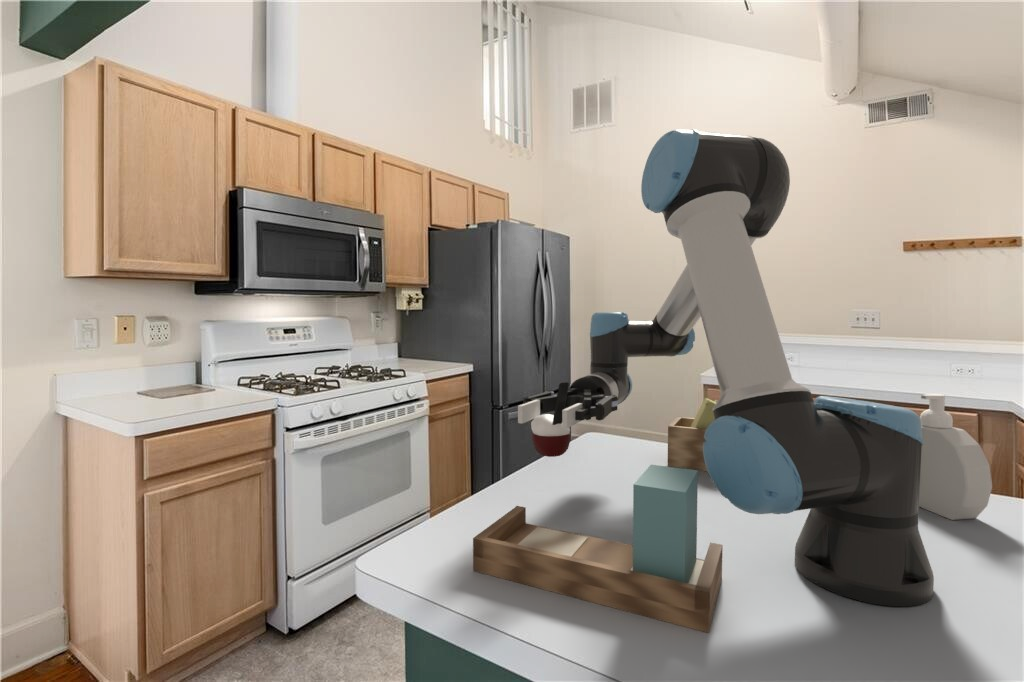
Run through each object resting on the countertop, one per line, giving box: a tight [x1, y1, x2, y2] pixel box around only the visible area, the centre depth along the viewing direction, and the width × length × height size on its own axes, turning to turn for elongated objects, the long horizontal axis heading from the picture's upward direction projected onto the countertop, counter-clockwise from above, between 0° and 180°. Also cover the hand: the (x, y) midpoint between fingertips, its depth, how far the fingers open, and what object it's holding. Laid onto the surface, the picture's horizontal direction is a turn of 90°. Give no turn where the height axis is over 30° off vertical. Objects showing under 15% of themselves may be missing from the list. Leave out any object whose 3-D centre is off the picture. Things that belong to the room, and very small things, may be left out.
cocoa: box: [530, 382, 572, 458], centre depth 85 cm, size 10×6×12 cm, turn 1°
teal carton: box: [632, 464, 699, 583], centre depth 66 cm, size 6×9×12 cm
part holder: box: [667, 416, 708, 472], centre depth 116 cm, size 26×11×9 cm, turn 62°
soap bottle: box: [919, 393, 993, 521], centre depth 92 cm, size 16×5×20 cm, turn 8°
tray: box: [472, 505, 723, 634], centre depth 70 cm, size 30×13×4 cm, turn 62°
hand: (542, 416), depth 80 cm, fingers closed on cocoa, 7 cm apart
